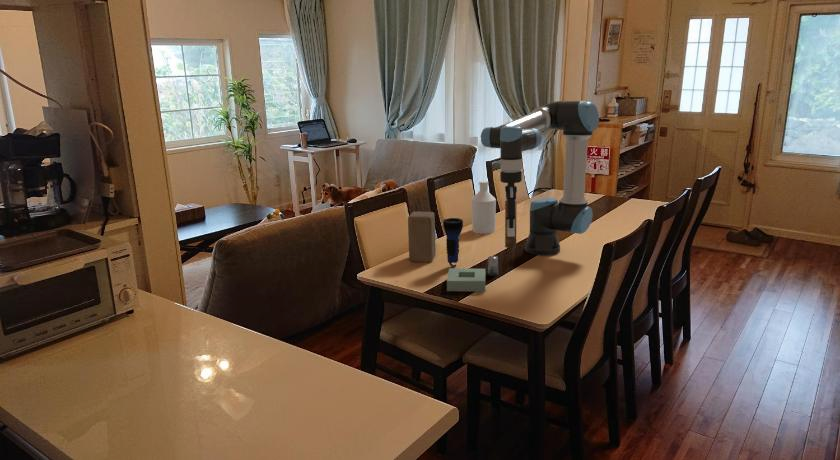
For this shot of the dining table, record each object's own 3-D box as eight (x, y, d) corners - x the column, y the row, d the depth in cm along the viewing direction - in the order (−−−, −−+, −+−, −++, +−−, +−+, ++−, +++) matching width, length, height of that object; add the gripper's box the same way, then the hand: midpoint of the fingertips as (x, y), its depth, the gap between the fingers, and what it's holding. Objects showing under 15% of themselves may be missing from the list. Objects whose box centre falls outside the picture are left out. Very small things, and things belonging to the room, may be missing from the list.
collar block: (485, 278, 230) (485, 268, 229) (485, 291, 216) (485, 281, 215) (449, 278, 231) (449, 268, 230) (447, 291, 218) (446, 280, 217)
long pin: (516, 244, 218) (516, 199, 213) (516, 248, 214) (516, 202, 210) (505, 244, 219) (505, 199, 214) (505, 248, 215) (505, 202, 210)
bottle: (479, 226, 305) (479, 178, 299) (500, 229, 298) (500, 180, 292) (467, 232, 296) (467, 182, 289) (488, 235, 289) (488, 184, 283)
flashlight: (460, 271, 239) (459, 223, 234) (441, 269, 242) (440, 222, 236) (465, 265, 246) (465, 218, 241) (447, 263, 249) (446, 217, 244)
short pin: (498, 272, 236) (498, 255, 234) (498, 276, 232) (498, 259, 230) (488, 272, 236) (488, 255, 235) (488, 275, 233) (488, 258, 231)
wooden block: (431, 263, 250) (430, 217, 245) (408, 262, 252) (407, 216, 247) (436, 255, 260) (435, 211, 254) (413, 255, 262) (412, 211, 256)
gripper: (499, 166, 217) (499, 228, 224) (500, 175, 201) (500, 241, 207) (520, 166, 217) (520, 228, 223) (523, 174, 200) (522, 241, 207)
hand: (510, 234), depth 215 cm, fingers closed on long pin, 4 cm apart
